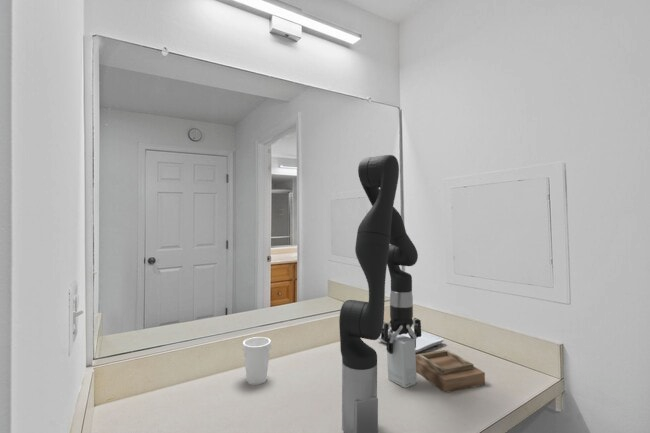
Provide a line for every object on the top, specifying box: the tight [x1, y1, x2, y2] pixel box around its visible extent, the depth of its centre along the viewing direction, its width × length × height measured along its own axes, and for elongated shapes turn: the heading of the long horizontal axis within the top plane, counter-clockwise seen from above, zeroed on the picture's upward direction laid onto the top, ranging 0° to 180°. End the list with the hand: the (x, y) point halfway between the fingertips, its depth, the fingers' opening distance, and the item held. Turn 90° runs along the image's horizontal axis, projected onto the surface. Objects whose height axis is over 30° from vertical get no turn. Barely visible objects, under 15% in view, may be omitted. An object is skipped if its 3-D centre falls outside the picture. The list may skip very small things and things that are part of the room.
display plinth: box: [415, 349, 486, 393], centre depth 119 cm, size 20×16×6 cm
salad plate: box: [377, 328, 445, 354], centre depth 148 cm, size 21×21×3 cm
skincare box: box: [386, 335, 417, 389], centre depth 114 cm, size 8×6×15 cm
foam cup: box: [242, 336, 272, 385], centre depth 115 cm, size 10×9×13 cm
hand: (401, 351), depth 114 cm, fingers open, 8 cm apart
